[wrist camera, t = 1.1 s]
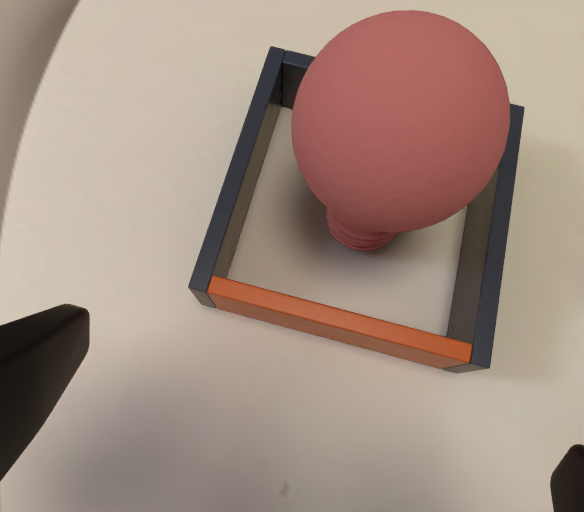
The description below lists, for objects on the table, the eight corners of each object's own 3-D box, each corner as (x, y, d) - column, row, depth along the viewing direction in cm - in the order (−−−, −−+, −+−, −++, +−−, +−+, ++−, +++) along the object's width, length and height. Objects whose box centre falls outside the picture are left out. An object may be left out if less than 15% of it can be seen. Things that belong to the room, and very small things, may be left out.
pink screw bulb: (278, 165, 25) (278, -37, 13) (408, 150, 25) (516, -57, 14) (297, 295, 23) (317, 188, 11) (439, 276, 23) (595, 155, 12)
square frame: (457, 373, 22) (490, 368, 19) (200, 304, 22) (187, 287, 19) (492, 144, 26) (525, 106, 22) (271, 90, 26) (270, 45, 23)
